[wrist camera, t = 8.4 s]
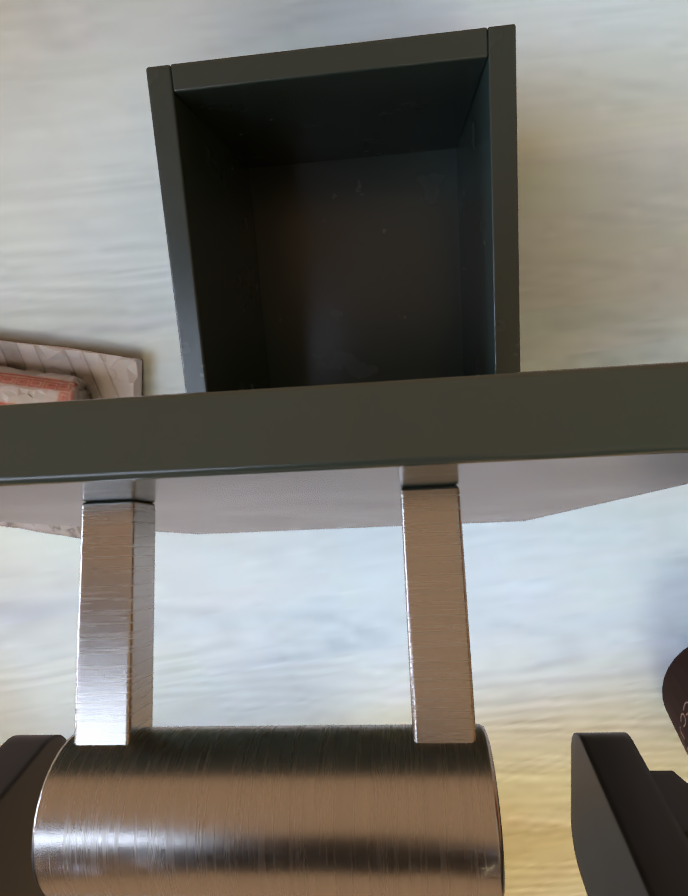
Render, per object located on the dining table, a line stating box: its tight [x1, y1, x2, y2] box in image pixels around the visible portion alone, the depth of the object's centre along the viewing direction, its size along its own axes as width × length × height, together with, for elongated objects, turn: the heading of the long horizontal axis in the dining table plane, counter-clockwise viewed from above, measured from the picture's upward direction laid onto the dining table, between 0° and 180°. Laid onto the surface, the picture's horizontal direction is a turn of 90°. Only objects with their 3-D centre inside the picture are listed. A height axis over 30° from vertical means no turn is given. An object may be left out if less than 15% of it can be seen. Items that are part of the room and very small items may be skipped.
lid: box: [0, 362, 688, 896], centre depth 13 cm, size 16×11×5 cm
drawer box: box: [146, 24, 520, 393], centre depth 25 cm, size 15×11×11 cm
